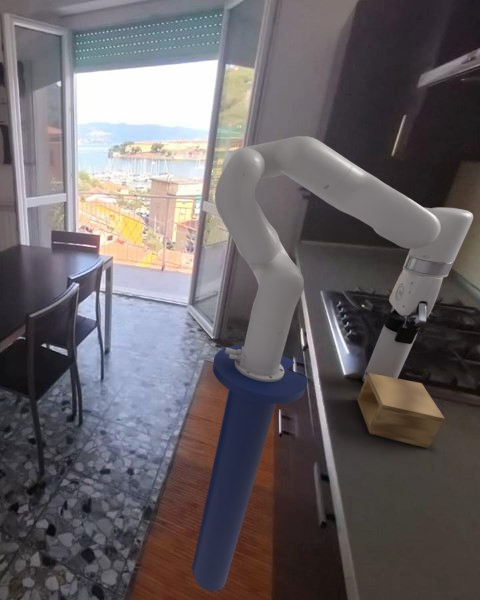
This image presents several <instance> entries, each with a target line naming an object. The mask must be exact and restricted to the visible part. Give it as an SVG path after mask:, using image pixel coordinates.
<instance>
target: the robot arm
mask: <svg viewBox="0 0 480 600" xmlns="http://www.w3.org/2000/svg"><path fill="white" fill-rule="evenodd" d="M283 176H286V177H288V178H289V179H291V180H292V181H294V182H295V183H297V184H298V185H300V186H302V187H303V188H304V189H306V190H308V191H309V192H311V193H312V194H314V195H315V196H317V197H318V198H320V199H321V200H322V201H324V202H326V204H328V205H330V206H332V207H334V208H335V209H337V210H338V211H340V212H342V213H345V214H347V215H349V216H351V217H354V218H355V219H357V220H360V221H361V222H363V223H364V224H366V225H368V226H369V227H371V228H372V229H373V230H374V232H375V233H376V234H377V235H379V236H380V237H382V238H383V239H386V240H388V241H390V242H391V243H393V244H395V245H396V246H399V247H400V248H403V249H408V250H409V251H408V253H407V256H406V259H405V260H404V264H403V266H402V271H401V272H400V274H399V276H398V278H397V280H396V282H395V284H394V287H393V289H392V291H391V293H390V295H389V298H388V301H389V303H390V305H391V306H392V307H391V308H390V313H389V314H399V315H401V316H404V320H403V326H400V327H399V330H398V332H397V334H396V337H395V339H394V340H395V341H396V342H400V343H406V344H412V343H413V344H414V342H415V340H414V338H415V336H416V337H417V335H418V334H417V332H419V331H420V330H421V328H422V326H423V325H425V324H426V323H427V318H428V317H430V314H431V312H432V311H433V308H434V306H435V304H436V300H437V298H438V296H439V293H440V290H441V287H442V284H443V280H444V278H446V277H448V276H449V273H450V272H451V269H452V267H453V265H454V263H455V260H456V258H457V256H458V254H459V251H460V249H461V247H462V245H463V243H464V240H465V238H466V236H467V234H468V232H469V230H470V228H471V225H472V223H473V220H474V214H473V213H472V212H470V211H469V210H465V209H461V208H456V207H432V208H431V207H423V206H422V205H421V204H419V203H417V202H416V201H414V200H413V199H411V198H410V197H408V196H407V195H405V194H403V193H401V192H400V191H398V190H397V189H395V188H393V187H391V186H390V185H388V184H386V183H385V182H383V181H382V180H380V179H379V178H378V177H376V176H375V175H373V174H371V173H369V172H368V171H366V170H364V169H363V168H361V167H360V166H358V165H356V164H355V163H353V162H352V161H350V160H349V159H348V158H346V157H345V156H343V155H342V154H340V153H339V152H336V150H334V149H333V148H332V147H330V146H328V145H326V144H325V143H323V142H322V141H321V140H319V139H317V138H315V137H312V136H307V135H306V136H305V135H302V136H301V135H300V136H299V135H297V136H290V137H286V138H282V139H277V140H273V141H268V142H263V143H259V144H254V145H248V146H243V147H239V148H236V149H234V150H232V151H230V152H229V153H228V154H227V155H226V156H225V158H224V159H223V162H222V165H221V173H220V176H219V177H218V181H217V183H216V186H215V192H214V203H215V209H216V211H217V214H218V215H219V217H220V219H221V221H222V224H223V225H224V226H225V228H226V231H227V232H228V234H229V235H230V237H231V238H232V240H233V242H234V244H235V246H236V249H237V251H238V253H239V255H240V256H241V257H242V258H243V259H244V260H245V262H246V263H247V266H249V268H250V270H251V272H252V273H253V276H254V277H255V279H256V283H257V286H258V287H257V291H256V294H255V297H254V300H253V304H252V307H251V312H250V316H249V321H248V325H247V331H246V335H245V340H244V345H241V346H242V350H240V349H238V350H235V349H231V348H227V347H225V348H226V350H225V354H228V355H229V359H235V367H236V368H237V370H238V371H239V372H240V373H242V374H243V375H245V376H246V377H249V378H251V379H254V380H257V381H262V382H275V381H278V380H280V379H282V378H283V376H284V368H283V366H282V365H281V364H280V362H281V358H282V355H283V354H284V350H285V347H286V343H287V339H288V336H289V333H290V329H291V324H292V320H293V318H294V314H295V311H296V308H297V305H298V303H299V301H300V300H301V299H300V298H301V297H302V294H303V292H304V288H305V280H304V277H303V273H302V272H301V270H300V268H299V267H298V266H297V265H296V263H295V262H294V261H293V260H292V259H291V257H290V256H289V254H288V252H287V251H286V249H285V248H284V245H283V244H282V242H281V240H280V237H279V234H278V232H277V230H276V229H275V228H274V227H273V225H271V224H270V222H269V220H268V219H267V216H265V213H264V212H263V210H262V208H261V206H260V204H259V202H258V201H257V197H256V189H257V186H258V184H259V183H260V181H262V180H266V179H267V180H268V179H273V178H278V177H283ZM415 314H416V315H415ZM409 318H414V319H415V320H414V321H410V322H409ZM408 322H409V323H408ZM416 334H417V335H416ZM415 339H416V338H415ZM413 341H414V342H413ZM243 346H244V347H243Z"/></svg>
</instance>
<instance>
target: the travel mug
mask: <svg viewBox="0 0 480 600" xmlns="http://www.w3.org/2000/svg"><path fill="white" fill-rule="evenodd" d="M403 320H404V316H401V315H399V314H390V313H388V315H387V317H386V320H385V322H384V323H383V327H382V328H381V331H380V334H379V336H378V339H377V340H376V344H375V347H374V349H373V352H372V354H371V356H370V359H369V362H368V364H367V367H366V369H365V371H364V373H363V376H362V382H363V383H364V382H365V379H366V377H367V374H368V373H372V374H377V375H382V376H387V377H392V378H397V379H399V376H400V374H401V371H402V369H403V367H404V365H405V362H406V360H407V358H408V356H409V353H410V351H411V349H412V347H413V345H414V342H415V341H416V338H417V335H418V332H419V331H418V332H417V334H416V336H415V338H414V341H413V343H412V344H406V343H400V342H396V341H395V340H394V339H395V337H396V334H397V332H398V330H399V327H400V326H403ZM414 320H415V318H409V322H410V321H414ZM409 322H408V323H409Z"/></svg>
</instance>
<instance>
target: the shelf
mask: <svg viewBox="0 0 480 600" xmlns="http://www.w3.org/2000/svg"><path fill="white" fill-rule="evenodd" d="M356 401H357V403H358V406H359V409H360V411H361V414H362V417H363V419H364V422H365V425H366V428H367V430H368V433H369V434H370V435H372V436H377V437H381V438H385V439H390V440H392V441H398V442H400V443H405V444H408V445H413V446H418V447H420V448H425V449H429V448H430V446H431V444H432V442H433V441H434V439H435V438H436V435H437V433H438V431H439V430H440V428H441V426H442V424H443V422H444V420H445V417H444V415H443V414H442V412H441V411H440V409H439V408H438V406H437V404H436V403H435V402H434V400H433V398H432V396H431V395H430V393H429V392H428V391H427V390H426V387H425V386H424V384H423V383H422V382H417V381H411V380H406V379H402V378H392V377H387V376H382V375H377V374H372V373H368V374H367V377H366V379H365V382H363V384H362V386H361V389H360V392H359V394H358V397H357V399H356Z"/></svg>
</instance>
